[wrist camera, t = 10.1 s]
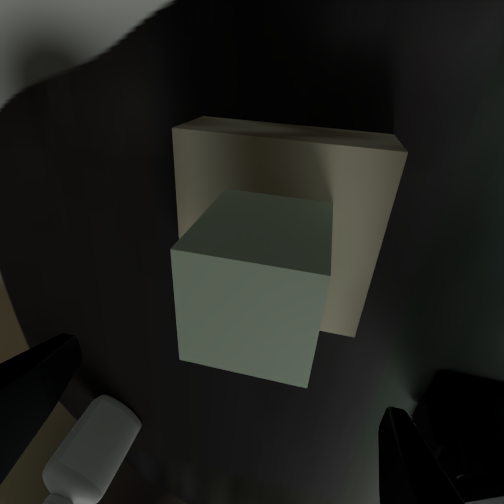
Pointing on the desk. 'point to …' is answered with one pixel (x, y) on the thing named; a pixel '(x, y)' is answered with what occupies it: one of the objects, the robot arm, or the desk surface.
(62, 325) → the desk surface
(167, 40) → the desk surface
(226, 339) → the sage block
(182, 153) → the birch block
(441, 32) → the desk surface
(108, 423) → the eye dropper bottle
